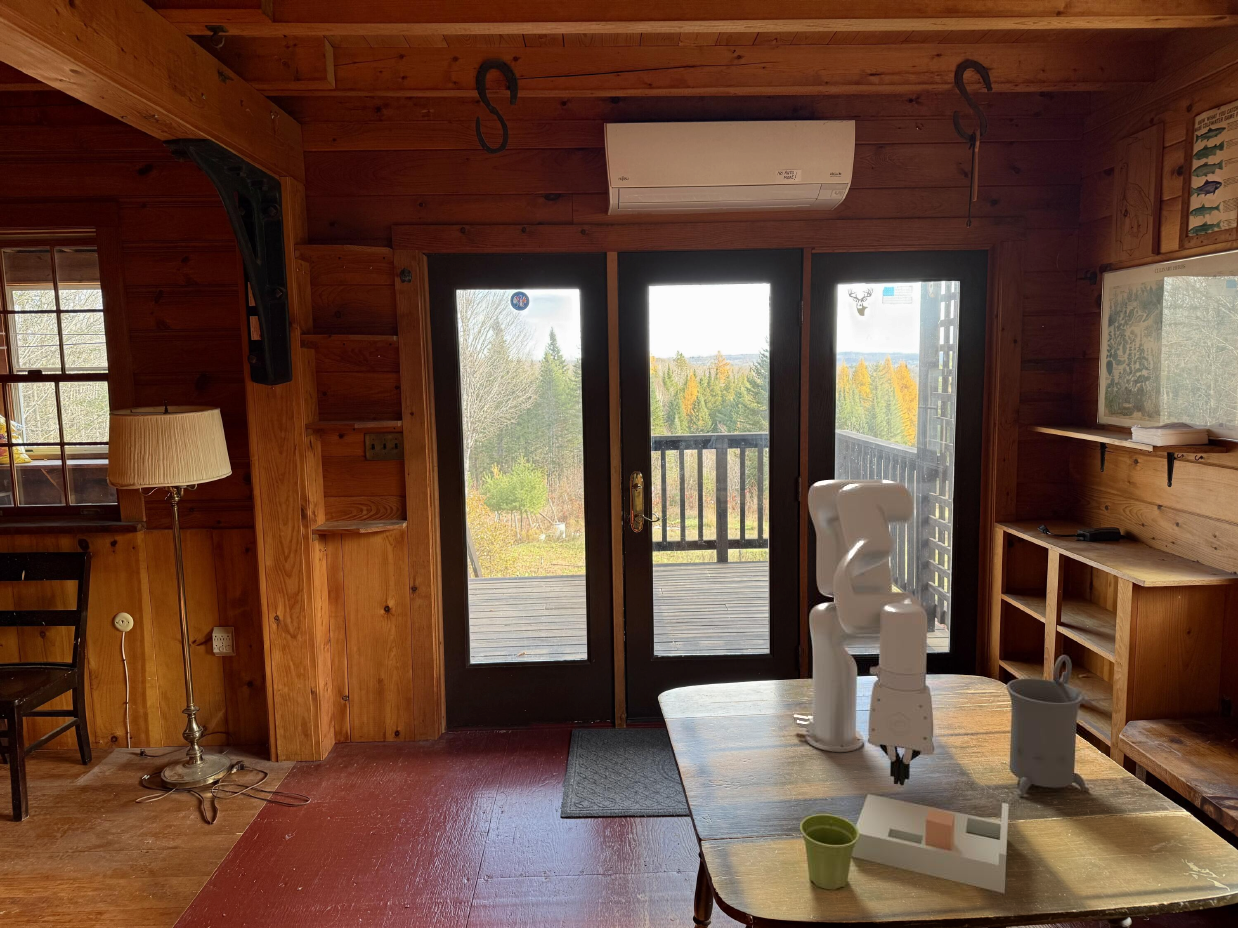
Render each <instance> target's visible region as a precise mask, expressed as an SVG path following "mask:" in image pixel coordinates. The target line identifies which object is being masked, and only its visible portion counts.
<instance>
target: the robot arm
mask: <svg viewBox="0 0 1238 928" xmlns="http://www.w3.org/2000/svg"><path fill="white" fill-rule="evenodd" d="M807 504H808V512H809V515H810V517H811V521H812V523H813V527H814V530H815V534H816V536H815V537H816V562H815V563H816V573H815V574H816V586H817V588H818V591H819V593H820V594H822V595H823V596H826V597H830V598H834V601H832V602H831V601H830V602H828V601H827V602H823V603H820V604H817V605H814V607H813V608H811V610H810V613H809V618H808V620H809V629H810V630H809V631H810V637H811V645H812V711H811V713H812V715H808V716H805V715H802V714H795V713H794V715H793V723H794V724H796V727H797V728H800V729H801V728H802V729H806V730H805V733H804V738H805V741H806V742H807V743H809V744H810V745H811V746H813V747H814V748H817V749H819V750H824V751H826V752H828V751H829V752H833V753H835V752H836V753H844V752H852V751H856V750H857V749H860V748H861V747H862V746H863V743H864V737H863V735H862V733H860V731H858V730H857V699H858V697H857V693H858V691H857V689H858V687H857V686H858V682H857V681H858V666H857V663H856V660H855V659H854V657H853V656H852V655H851V654H850V653H849V651H847V649H846V648H847V647H860V646H861V647H868V646H870V647H871V646H879V647H878V651H879V653H878V654H879V655H878V657H879V658H878V665H877V666H870V668H869V675H872V676H875V677H876V680H875V681H874V683H873V685H872V690H871V694H870V703H869V712H868V713H869V714H868V728H867V729H868V730H867V733H868V734H867V735H868V738H867V743H868V744H870V745H872V746H874V747H877V748H880V749H881V751H883V753H884V754H885V755H886V756H887V759H888V760H889V761H890V763H889V765H890V766H889V767H890V771H889V776H890V777H893V785H900V786H903V787H904V786H905V782H906V780H910V776H911V775H910V774H911V771H910V770H911V762H912V761H913V760H914V759H916V758H917V757H919V756H928V755H929V756H930V755H931V756H932V755H934V753H935V745H934V742H933V737H934V712H933V711H934V710H933V700H932V695H931V689H930V687H929V686H928V685H927V647H928V645H927V644H928V641H927V640H928V614H927V612H926V611H925V609H924V608H923V607H922V604H921V602H920V601H919V600H918V598H917V597H916V596H915V595H914V594H913V593H909V592H903V591H902V592H900V591H898V592H893V582H892V581H893V579H892V578H893V577H892V570H891V567H890V563H889V562H888V560H889V559H890V557H891V556H892V554H893V553H894V550H895V544H894V540H893V537H892V534H891V530H890V528H889V526H903V525H906V524H908V523H909V522H910V521H911V519H912V517H913V514H914V502H913V498H912V495H911V493H910V491H909V489H908V488H907V487H906V486H905V485H904V484H902V483H901V482H899V481H898V482H897V481H892V480H889V479H828V480H821V481H817V482H815V483H813V484H812V485H811V486H810V488H809V490H808V494H807ZM899 748H900V749H904V753H902V755H900V753H899V751H898V749H899Z"/></svg>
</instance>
